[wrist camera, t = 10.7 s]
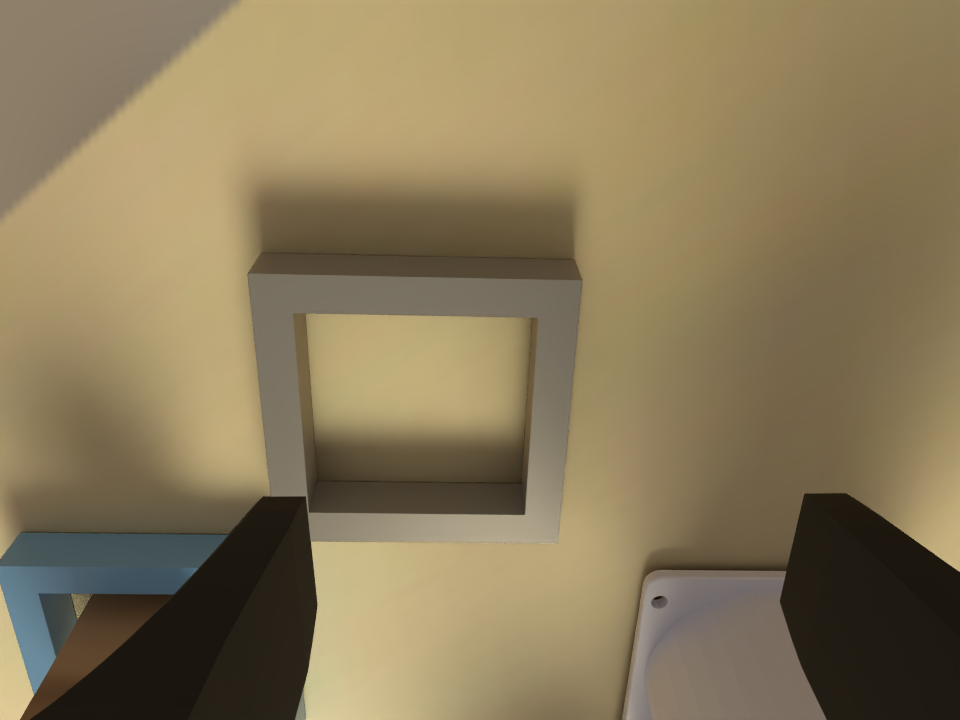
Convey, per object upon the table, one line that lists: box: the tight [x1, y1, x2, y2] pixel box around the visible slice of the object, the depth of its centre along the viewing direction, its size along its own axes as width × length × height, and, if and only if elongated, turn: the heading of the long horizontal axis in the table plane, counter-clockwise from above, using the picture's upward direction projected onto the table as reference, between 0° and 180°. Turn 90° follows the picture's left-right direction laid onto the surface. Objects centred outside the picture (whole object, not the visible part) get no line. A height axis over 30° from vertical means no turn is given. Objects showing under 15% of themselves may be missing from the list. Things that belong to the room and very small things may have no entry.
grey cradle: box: [248, 253, 582, 544], centre depth 22 cm, size 8×8×2 cm
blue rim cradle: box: [0, 533, 306, 720], centre depth 26 cm, size 8×8×2 cm
